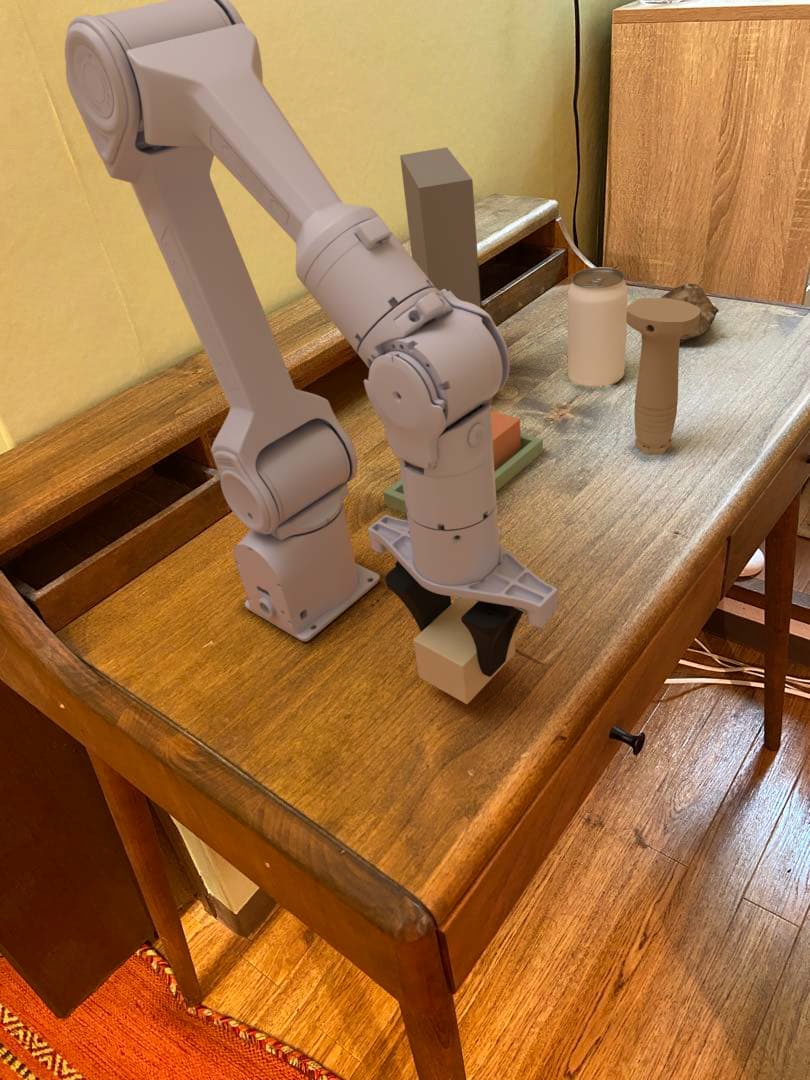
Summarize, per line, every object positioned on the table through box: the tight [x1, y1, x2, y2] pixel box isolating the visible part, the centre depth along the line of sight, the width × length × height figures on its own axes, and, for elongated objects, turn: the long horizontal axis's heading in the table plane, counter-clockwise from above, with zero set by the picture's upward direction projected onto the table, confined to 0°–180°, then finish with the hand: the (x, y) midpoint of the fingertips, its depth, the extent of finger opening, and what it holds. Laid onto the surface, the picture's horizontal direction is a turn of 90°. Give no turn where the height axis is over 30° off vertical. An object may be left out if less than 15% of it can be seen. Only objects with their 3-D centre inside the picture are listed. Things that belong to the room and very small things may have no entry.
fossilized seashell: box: [660, 283, 720, 343], centre depth 101 cm, size 8×7×10 cm
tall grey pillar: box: [399, 147, 494, 407], centre depth 91 cm, size 14×6×25 cm, turn 8°
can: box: [567, 266, 629, 387], centre depth 93 cm, size 6×6×12 cm
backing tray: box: [382, 431, 544, 515], centre depth 82 cm, size 16×8×2 cm, turn 139°
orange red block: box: [491, 410, 521, 471], centre depth 83 cm, size 6×4×4 cm
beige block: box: [412, 597, 516, 705], centre depth 60 cm, size 6×4×4 cm
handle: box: [626, 297, 701, 456], centre depth 78 cm, size 5×6×15 cm
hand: (466, 652), depth 60 cm, fingers closed on beige block, 4 cm apart
